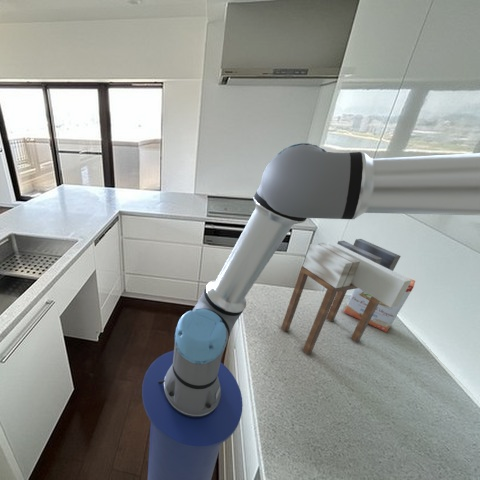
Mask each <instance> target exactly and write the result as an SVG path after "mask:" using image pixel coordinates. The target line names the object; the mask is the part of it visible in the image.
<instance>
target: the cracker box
mask: <svg viewBox="0 0 480 480" xmlns="http://www.w3.org/2000/svg"><path fill="white" fill-rule="evenodd" d="M407 278H408V277H407ZM408 279H410V280H412V281H411V283H410V285H409V286H408V288H407V290H406V292H405V293H404V295H403V297H402V299H401V300H400V302H399V304H398V306H396V307H392V308H390V307H389V306H387V305H385V304H384V303H382V302H381V301H380V302H379V304H378V306H377V308H376V310H375V312H374V314H373V316H372V317H371V319H370V321H369V323H368V325H370V326H372V327H374V328H376V329H377V330H380V331H382V332H385V333H387V332H388V331H389V329H390V327H391V326H392V325H393V323H394V321H395V319H396V317H397V316H398V315H399V313H400V311H401V309H402V308H403V306H404V304H405V303H406V301H407V300H408V298H409V296H410V294H411V292H412V291H413V289H414V287H415V283H416V280H415V279H411V278H408ZM371 297H372V296H371V295H369V294H368V293H366V292H364V291H363V290H361V289H359V288H356V289H353V292H352V294H351V296H350V298H349V299H348V303H347V305H346V306H345V308H344V310H343V313H345V314H347V315H349V316H350V317H353V318H355V319H358V321H360V319H361V317H362V315H363V313H364V311H365V309H366V307H367V305H368V303H369V301H370V299H371Z"/></svg>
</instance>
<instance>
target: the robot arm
mask: <svg viewBox="0 0 480 480" xmlns="http://www.w3.org/2000/svg"><path fill="white" fill-rule="evenodd" d="M252 198H253V202H254V205H255V207H254V210H253V211H252V213H251V216H250V217H249V219H248V221H247V223H246V225H245V226H244V228H243V231H242V232H241V234H240V236H239V237H238V239H237V240H236V243H235V245H234V246H233V247H232V250H231V252H230V253H229V256H228V257H227V259H226V261H225V262H224V264H223V267H222V268H221V270H220V272H219V274H218V275H217V277H216V279H212V280H210V281H209V282H208V283H207V284H206V286H205V287H204V290H203V291H202V294H200V297H199V299H198V301H197V302H196V304H195V306H194V307H193V308H192V310H191V309H190V310H188V311H186V312H185V313H184V314H182V316H181V317H179V320H178V322H177V325H176V327H175V332H174V345H173V351H174V356H173V364H172V365H171V367H170V368H169V370H168V372H167V374H166V376H165V380H162V381H158V383H159V384H162V383H164V394H165V397H166V400H167V402H168V403H169V405H170V406H171V407H172V408H173V409H174V410H175V411H176V412H177V413H179V414H180V415H182V416H184V417H187V418H192V419H200V418H205V417H207V416H209V415H210V414H212V413H213V412H214V411H215V410H216V408H217V407H218V404H219V401H220V397H221V387H220V382H219V378H218V371H219V367H220V362H221V363H222V358H223V354H224V351H225V349H226V347H227V344H228V341H229V339H230V336H231V333H232V330H233V328H234V326H235V324H236V323H237V321H238V319H239V318H240V316H241V315H242V313H243V312H244V311H245V310H246V307H247V299H246V296H248V293H249V292H250V291H251V289H252V288H253V286H254V285H255V283H256V281H257V280H258V278H259V277H260V276H261V274H262V272H263V271H264V270H265V268H266V266H267V265H268V264H269V262H270V261H271V259H272V257H273V256H274V254H275V253H276V251H277V250H278V249H279V247H280V246H281V244H282V242H283V241H284V239H285V238H286V236H287V235H288V234H289V232H290V230H291V229H292V227H293V226H294V225H298V224H302V223H305V222H306V220H307V219H328V220H355V219H357V218H359V217H361V215H363V214H399V215H400V214H401V215H402V214H404V215H440V216H441V215H445V216H446V215H447V216H480V152H475V153H472V152H471V153H455V154H437V155H418V156H399V157H398V156H397V157H382V158H381V157H379V158H378V157H377V158H372V157H370V156H369V155H368V154H367V153H365V152H364V151H352V152H334V151H333V152H332V151H327V150H325V149H324V148H321V147H320V146H318V145H317V144H312V143H309V142H306V143H305V142H302V143H301V142H300V143H295V144H292V145H289V146H288V147H285V148H283V149H282V150H281V151H279V152H278V153H277V154H276V155H275V156H274V157H273V158H272V159H271V161H270V162H268V163H267V165H266V167H265V169H264V171H263V173H262V176H261V181H260V184H259V186H258V188H257V190H256V192H255V194H254V195H253V197H252Z"/></svg>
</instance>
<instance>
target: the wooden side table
mask: <svg viewBox="0 0 480 480" xmlns="http://www.w3.org/2000/svg"><path fill="white" fill-rule="evenodd" d="M336 243H337V244H339V245H341V246H343V247H345V248H347V249H349V250H351V251H353V252H355V253H357V254H359V255H361V256H363V257H365V258H367V259H369V260H371V261H373V262H375V263H377V264H379V265H381V266H383V267H386V268H388V269H390V270H392V271H394V270H395V268H396V266H397V264H398V263H399V260H400V258H401V257H402V256H401V255H400V254H397V253H394V252H392V251H391V250H388V249H386V248H384V247H381V246H378V245H377V244H374V243H372V242H370V241H367V240H365V239H363V238H355V240H354V242H353V244H352V243H350V242H348V241H346V240H338V241H337V242H336ZM359 263H360V261H358V260H356V259H354V258H352V257H350V256H348V255H346V254H344V253H342V252H340V251H338V250H336V249H334V248H332V247H331V246H329V245H327V243H325V242H319V243H310V244H309V247H308V250H307V253H306V256H305V259H304V262H303V265H302V266H301V267H300V270H299V273H298V276H297V279H296V283H295V285H294V288H293V291H292V294H291V297H290V300H289V304H288V306H287V309H286V313H285V315H284V318H283V321H282V324H281V327H280V329H281V330H282V331H283V332H289V331H290V327H291V325H292V322H293V319H294V316H295V314H296V311H297V308H298V306H299V303H300V299H301V296H302V294H303V291H304V288H305V285H306V282H307V280H308V277H309V278H310V279H312V280H313V281H315V282H316V283H317V284H319V285H321V286H322V287H324V289H326V291H325V294H324V295H323V299H322V301H321V304H320V306H319V309H318V311H317V313H316V316H315V319H314V320H313V324H312V326H311V328H310V331H309V334H308V336H307V338H306V341H305V343H304V346H303V348H302V352H304V353H305V354H306V355H311V354H312V352H313V350H314V347H315V345H316V343H317V341H318V338H319V336H320V334H321V331H322V329H323V327H324V324H325V322H326V320H327V321H329V322H334V321H335V319H336V316H337V314H338V312H339V311H340V307H341V306H342V303H343V301H344V299H345V296H346V294H347V292H348V291H350V290H354V289H356V288H358V287H356V286H354V285H353V284H351V281H352V279H353V277H354V274H355V272H356V270H357V268H358V265H359ZM379 302H380V301H379V300H377V299H376V298H374V297H371V299H370V301H369V303H368V305H367V307H366V309H365V311H364V313H363V315H362V317H361V319H360V320H358V323H357V325H356V327H355V329H354V331H353V332H352V335H351V337H350V339H351V340H352V341H354V342H355V343H357V342H360V341H361V339H362V337H363V334H364V333H365V331H366V329H367V327H368V325H369V324H368V323H369V321H370V319H371V317H372V316H373V314H374V312H375V310H376V308H377V306H378V304H379Z"/></svg>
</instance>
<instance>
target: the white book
mask: <svg viewBox="0 0 480 480" xmlns="http://www.w3.org/2000/svg"><path fill="white" fill-rule="evenodd" d="M337 243H338V242H335V241H328V242H327V243H326V244H327V245H329V246H331V247H332V248H334V249H336V250H338V251H340V252H342V253H344V254H346V255H348V256H350V257H352V258H354V259H356V260H358V261H360V263H359V265H358V268H357V270H356V272H355V274H354V277H353V279H352V281H351V284H353V285H354V286H356V287H358V288H359V289H361V290H363V291H364V292H366V293H368V294H369V295H371V296H372V297H374V298H376V299H377V300H379V301H381V302H382V303H384V304H385V305H387V306H389V307H390V308H392V307H396V306H398V304H399V302H400V300H401V299H402V297H403V295H404V293H405V292H406V290H407V288H408V286H409V285H410V283H411V281H412V280H413V279H412V280H410V279H411V278H409V279H408V277H406V276H404V275H402V274H400V273H397V272H395V271H394V270H393V271H392V270H390V269H388V268H386V267H383V266H381V265H379V264H377V263H375V262H373V261H371V260H369V259H367V258H365V257H363V256H361V255H359V254H357V253H355V252H353V251H351V250H349V249H347V248H345V247H343V246H341V245H339V244H337Z"/></svg>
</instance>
